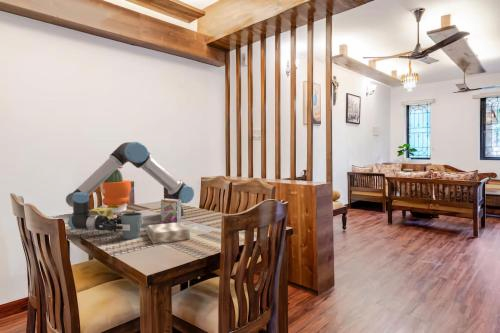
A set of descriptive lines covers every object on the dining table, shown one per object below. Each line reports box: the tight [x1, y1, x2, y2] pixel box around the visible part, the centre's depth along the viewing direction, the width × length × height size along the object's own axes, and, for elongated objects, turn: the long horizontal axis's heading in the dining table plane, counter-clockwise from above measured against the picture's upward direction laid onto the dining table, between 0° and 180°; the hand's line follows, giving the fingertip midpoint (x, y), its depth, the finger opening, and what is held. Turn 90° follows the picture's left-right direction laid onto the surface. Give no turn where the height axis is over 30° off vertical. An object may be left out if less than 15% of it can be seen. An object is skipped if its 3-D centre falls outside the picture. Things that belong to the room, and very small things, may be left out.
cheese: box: [89, 207, 114, 220], centre depth 183 cm, size 10×11×10 cm
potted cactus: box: [98, 166, 132, 214], centre depth 227 cm, size 22×22×35 cm
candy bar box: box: [160, 198, 182, 224], centre depth 181 cm, size 11×5×16 cm, turn 71°
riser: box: [146, 222, 191, 244], centre depth 162 cm, size 18×18×5 cm
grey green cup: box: [120, 211, 143, 240], centre depth 161 cm, size 10×10×12 cm
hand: (136, 224), depth 160 cm, fingers open, 13 cm apart
